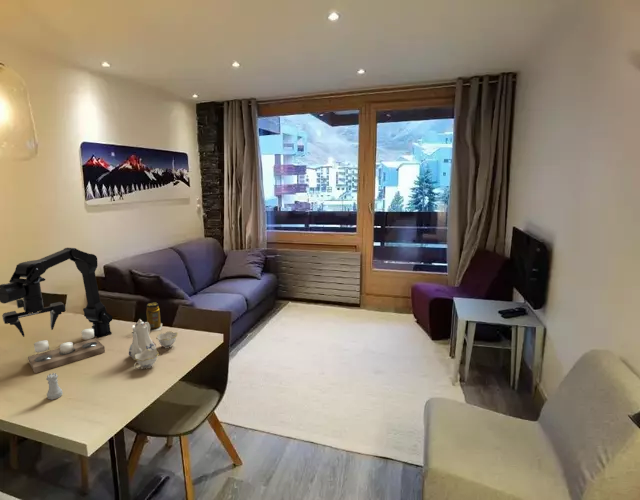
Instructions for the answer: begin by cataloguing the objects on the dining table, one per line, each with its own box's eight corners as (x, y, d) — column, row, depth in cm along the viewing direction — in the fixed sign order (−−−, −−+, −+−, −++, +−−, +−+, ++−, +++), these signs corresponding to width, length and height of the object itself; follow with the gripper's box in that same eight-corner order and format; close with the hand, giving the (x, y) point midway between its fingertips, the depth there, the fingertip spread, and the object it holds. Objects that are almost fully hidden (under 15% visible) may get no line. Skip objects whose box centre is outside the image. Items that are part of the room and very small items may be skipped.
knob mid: (72, 347, 153) (71, 341, 152) (74, 351, 150) (74, 344, 149) (59, 351, 150) (58, 344, 149) (62, 354, 147) (61, 347, 146)
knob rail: (96, 343, 163) (95, 337, 162) (105, 352, 155) (104, 346, 154) (29, 362, 146) (28, 356, 145) (34, 373, 138) (33, 367, 137)
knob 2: (92, 334, 158) (91, 327, 157) (95, 337, 155) (94, 330, 154) (81, 337, 155) (80, 330, 154) (83, 340, 152) (83, 333, 151)
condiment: (162, 323, 185) (160, 301, 183) (161, 330, 177) (159, 306, 175) (146, 325, 182) (144, 302, 180) (144, 332, 175) (142, 308, 172)
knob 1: (47, 346, 146) (46, 339, 146) (50, 349, 143) (49, 342, 143) (34, 349, 143) (32, 342, 143) (36, 353, 140) (35, 346, 140)
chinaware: (156, 377, 139) (157, 336, 136) (111, 373, 137) (111, 333, 134) (180, 344, 166) (181, 309, 163) (143, 341, 165) (143, 306, 162)
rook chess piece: (52, 392, 125) (49, 371, 124) (66, 392, 126) (62, 371, 124) (43, 400, 121) (40, 378, 120) (58, 399, 121) (54, 378, 120)
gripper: (56, 285, 151) (61, 320, 154) (-3, 295, 138) (4, 334, 141) (63, 291, 144) (68, 328, 147) (1, 302, 130) (8, 343, 133)
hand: (38, 333), depth 142 cm, fingers open, 9 cm apart
